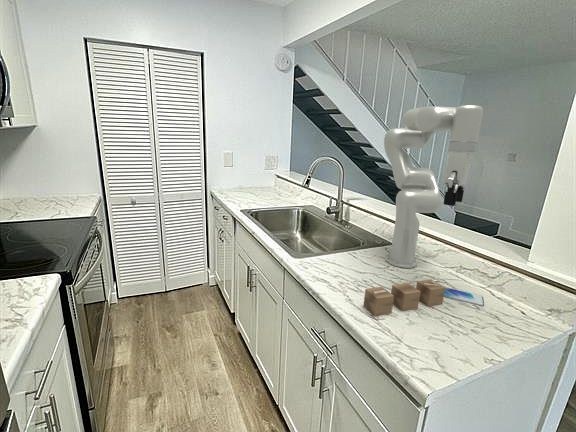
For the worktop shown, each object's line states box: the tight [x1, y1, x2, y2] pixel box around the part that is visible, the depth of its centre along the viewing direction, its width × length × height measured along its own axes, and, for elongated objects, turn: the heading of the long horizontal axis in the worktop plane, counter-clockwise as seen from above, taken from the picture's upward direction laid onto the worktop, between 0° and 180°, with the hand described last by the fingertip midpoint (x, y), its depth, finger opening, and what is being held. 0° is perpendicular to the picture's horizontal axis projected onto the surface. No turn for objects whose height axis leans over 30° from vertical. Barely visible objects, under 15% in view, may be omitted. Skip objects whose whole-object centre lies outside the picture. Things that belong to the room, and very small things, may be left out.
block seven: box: [415, 279, 446, 307], centre depth 103 cm, size 6×6×6 cm
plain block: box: [390, 282, 421, 312], centre depth 100 cm, size 6×6×6 cm
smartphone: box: [444, 286, 485, 307], centre depth 108 cm, size 7×1×15 cm
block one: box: [363, 286, 394, 317], centre depth 96 cm, size 6×6×6 cm
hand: (452, 203), depth 101 cm, fingers open, 9 cm apart
